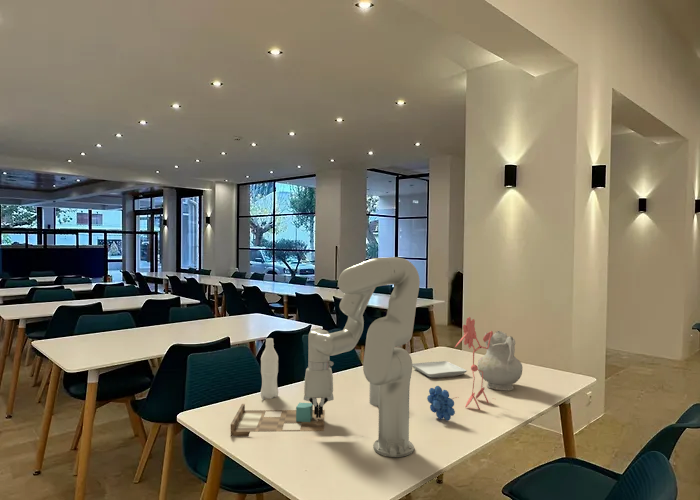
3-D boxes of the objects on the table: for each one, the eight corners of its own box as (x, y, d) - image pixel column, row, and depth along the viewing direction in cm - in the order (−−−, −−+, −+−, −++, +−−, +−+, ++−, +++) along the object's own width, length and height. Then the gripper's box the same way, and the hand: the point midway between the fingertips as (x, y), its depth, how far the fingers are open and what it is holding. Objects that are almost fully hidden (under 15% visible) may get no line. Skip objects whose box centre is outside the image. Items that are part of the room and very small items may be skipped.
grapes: (420, 418, 174) (420, 385, 174) (431, 413, 179) (431, 382, 178) (447, 426, 166) (448, 392, 166) (458, 421, 170) (458, 388, 170)
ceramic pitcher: (534, 395, 205) (538, 337, 205) (498, 396, 198) (502, 337, 198) (501, 381, 225) (505, 329, 225) (467, 382, 218) (471, 328, 218)
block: (310, 422, 165) (310, 407, 165) (296, 421, 166) (296, 407, 166) (312, 416, 170) (312, 403, 170) (299, 416, 171) (299, 402, 170)
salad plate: (409, 369, 243) (409, 362, 243) (446, 366, 249) (446, 360, 249) (428, 381, 222) (428, 373, 222) (468, 377, 229) (468, 370, 229)
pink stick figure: (498, 398, 196) (497, 314, 196) (473, 416, 176) (471, 322, 176) (464, 392, 206) (462, 312, 206) (436, 408, 185) (434, 319, 185)
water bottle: (256, 400, 192) (257, 339, 192) (267, 395, 198) (268, 336, 198) (271, 403, 189) (271, 341, 188) (281, 398, 195) (282, 338, 195)
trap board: (323, 435, 158) (323, 423, 157) (230, 436, 156) (230, 424, 156) (324, 413, 177) (324, 403, 177) (242, 414, 176) (242, 403, 176)
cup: (388, 406, 186) (388, 376, 185) (367, 405, 187) (368, 375, 187) (390, 400, 194) (390, 371, 193) (371, 398, 195) (371, 370, 195)
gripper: (339, 362, 171) (339, 412, 171) (298, 362, 171) (298, 412, 171) (339, 367, 164) (339, 420, 164) (296, 368, 163) (296, 420, 164)
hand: (318, 416), depth 168 cm, fingers closed
